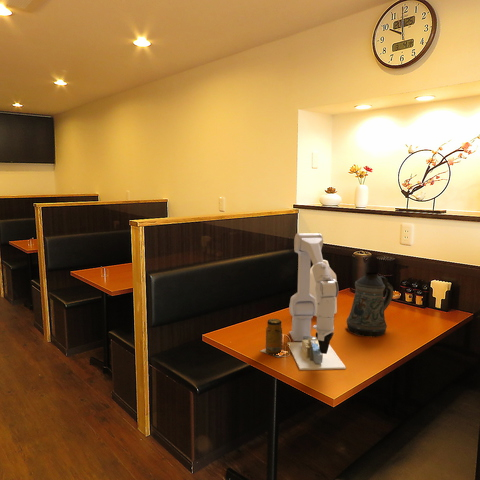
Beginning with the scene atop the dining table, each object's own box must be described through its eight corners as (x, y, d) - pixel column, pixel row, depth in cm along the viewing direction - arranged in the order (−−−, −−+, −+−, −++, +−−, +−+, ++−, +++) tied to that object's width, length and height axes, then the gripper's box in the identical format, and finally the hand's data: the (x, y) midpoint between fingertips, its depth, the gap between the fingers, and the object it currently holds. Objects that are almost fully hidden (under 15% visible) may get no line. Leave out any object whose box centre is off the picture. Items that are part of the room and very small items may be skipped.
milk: (302, 311, 200) (304, 259, 196) (316, 307, 208) (318, 256, 204) (322, 318, 191) (324, 263, 187) (336, 313, 199) (339, 260, 195)
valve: (298, 344, 159) (299, 333, 158) (314, 344, 159) (314, 332, 159) (309, 364, 142) (310, 351, 141) (326, 364, 143) (327, 351, 142)
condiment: (272, 345, 159) (273, 316, 157) (290, 352, 153) (291, 321, 152) (260, 351, 154) (260, 321, 152) (278, 358, 148) (279, 326, 146)
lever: (307, 339, 152) (307, 336, 151) (316, 340, 151) (316, 336, 151) (312, 354, 139) (312, 350, 139) (321, 354, 139) (321, 350, 139)
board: (287, 343, 161) (287, 342, 161) (327, 343, 162) (327, 341, 162) (299, 370, 139) (299, 368, 139) (345, 368, 141) (345, 367, 141)
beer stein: (339, 330, 176) (342, 273, 173) (360, 319, 190) (363, 266, 187) (375, 341, 165) (380, 280, 161) (395, 328, 179) (399, 272, 176)
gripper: (317, 307, 147) (316, 343, 150) (309, 320, 134) (307, 359, 136) (337, 310, 145) (335, 346, 147) (330, 323, 132) (328, 363, 134)
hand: (323, 353), depth 141 cm, fingers closed
